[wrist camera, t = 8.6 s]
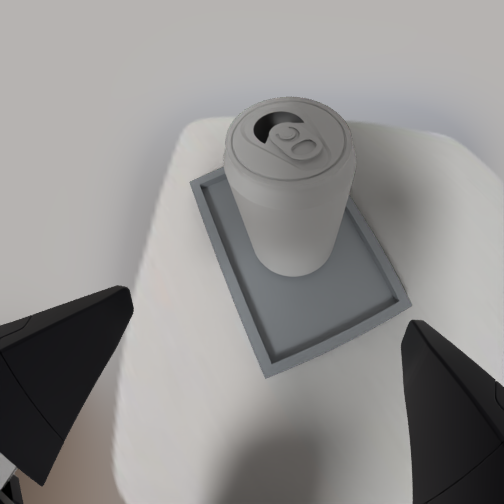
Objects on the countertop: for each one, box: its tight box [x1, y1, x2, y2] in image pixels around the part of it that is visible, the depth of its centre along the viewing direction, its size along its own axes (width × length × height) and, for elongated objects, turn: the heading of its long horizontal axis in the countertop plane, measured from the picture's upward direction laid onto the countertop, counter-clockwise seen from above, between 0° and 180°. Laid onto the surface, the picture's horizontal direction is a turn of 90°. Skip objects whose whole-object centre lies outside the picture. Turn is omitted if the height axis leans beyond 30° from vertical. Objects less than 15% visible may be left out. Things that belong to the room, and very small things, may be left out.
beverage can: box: [223, 97, 357, 277], centre depth 17 cm, size 6×6×12 cm
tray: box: [190, 167, 412, 379], centre depth 23 cm, size 18×12×2 cm, turn 22°
